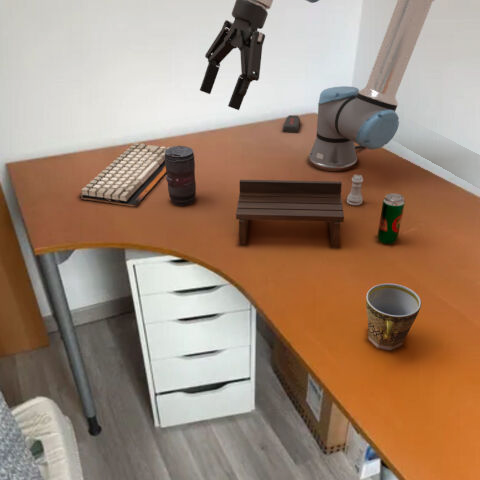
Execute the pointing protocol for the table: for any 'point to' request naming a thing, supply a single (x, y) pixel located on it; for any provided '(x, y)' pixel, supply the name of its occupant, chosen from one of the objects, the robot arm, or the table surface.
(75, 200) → the table surface
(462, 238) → the table surface
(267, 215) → the dark brown wooden bench
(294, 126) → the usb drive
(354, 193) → the rook chess piece
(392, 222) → the soda can
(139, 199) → the mechanical keyboard
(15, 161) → the table surface
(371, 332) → the ceramic cup
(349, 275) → the table surface
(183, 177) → the camera lens
